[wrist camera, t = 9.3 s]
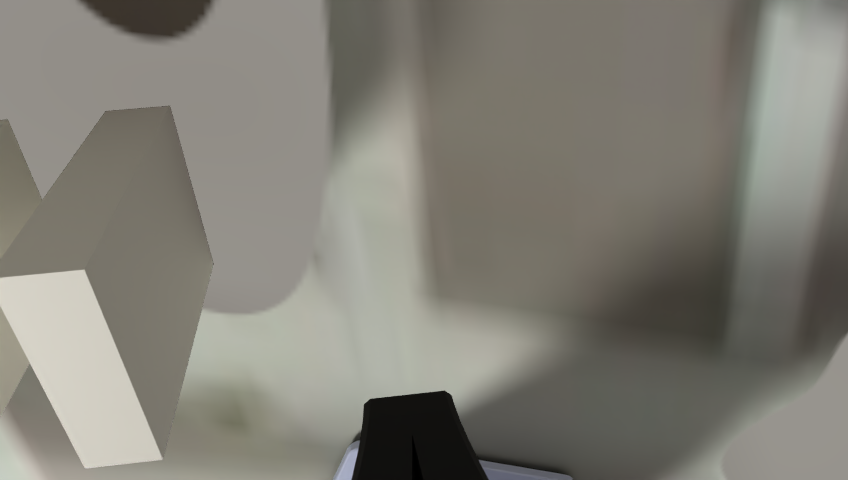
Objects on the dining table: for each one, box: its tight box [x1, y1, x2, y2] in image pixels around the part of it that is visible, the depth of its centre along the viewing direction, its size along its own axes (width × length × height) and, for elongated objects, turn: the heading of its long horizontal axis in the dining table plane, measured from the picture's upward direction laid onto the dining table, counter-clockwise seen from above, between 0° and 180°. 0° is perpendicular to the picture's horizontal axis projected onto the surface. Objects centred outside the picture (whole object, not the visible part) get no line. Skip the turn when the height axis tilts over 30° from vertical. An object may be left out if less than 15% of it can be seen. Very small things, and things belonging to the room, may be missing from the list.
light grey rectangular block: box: [0, 106, 214, 468], centre depth 16 cm, size 2×5×7 cm, turn 2°
